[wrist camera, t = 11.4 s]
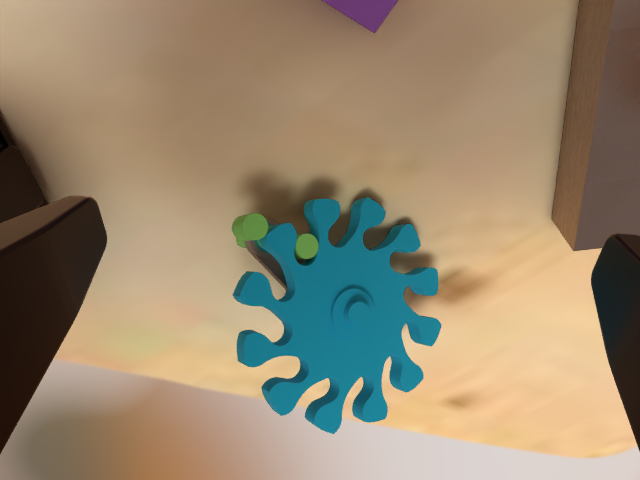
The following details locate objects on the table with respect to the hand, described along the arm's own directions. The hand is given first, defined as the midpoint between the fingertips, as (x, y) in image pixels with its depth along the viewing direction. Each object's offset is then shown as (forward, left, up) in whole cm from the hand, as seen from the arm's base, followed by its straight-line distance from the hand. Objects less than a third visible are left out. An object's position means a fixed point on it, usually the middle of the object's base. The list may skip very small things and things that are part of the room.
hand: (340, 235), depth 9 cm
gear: (-1, -9, -13) cm, 16 cm away
